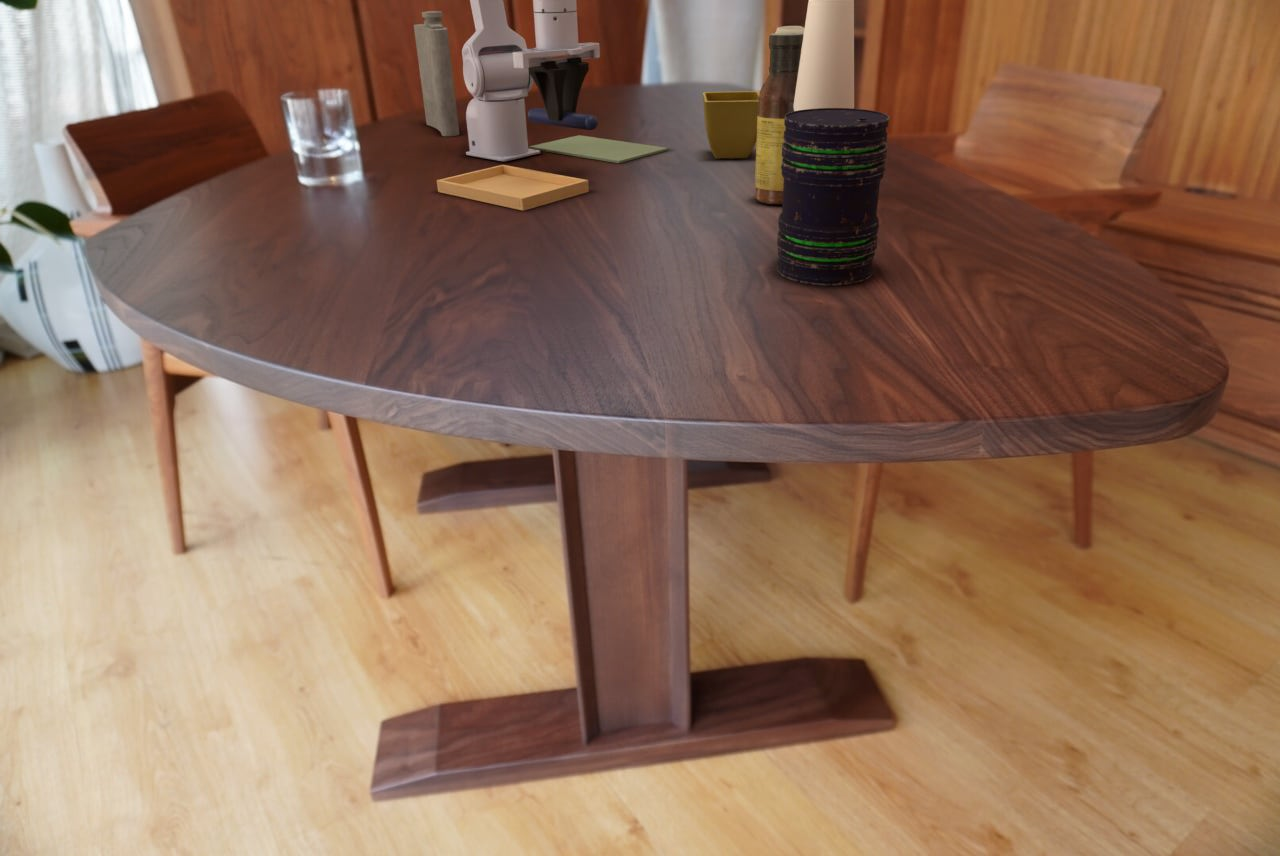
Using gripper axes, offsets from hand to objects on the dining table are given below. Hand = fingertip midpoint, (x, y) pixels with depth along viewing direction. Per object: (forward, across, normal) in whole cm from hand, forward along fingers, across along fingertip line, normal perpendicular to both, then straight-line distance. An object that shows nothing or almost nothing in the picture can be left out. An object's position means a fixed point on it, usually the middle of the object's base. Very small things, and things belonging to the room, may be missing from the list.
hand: (561, 118), depth 126 cm
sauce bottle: (+8, +8, -31) cm, 33 cm away
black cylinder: (+8, -13, -51) cm, 53 cm away
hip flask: (+9, +16, +48) cm, 51 cm away
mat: (+8, +18, +11) cm, 23 cm away
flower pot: (+9, +26, -10) cm, 30 cm away
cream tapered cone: (+8, +2, -40) cm, 41 cm away
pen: (+1, 0, 0) cm, 1 cm away
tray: (+8, -10, 0) cm, 13 cm away
